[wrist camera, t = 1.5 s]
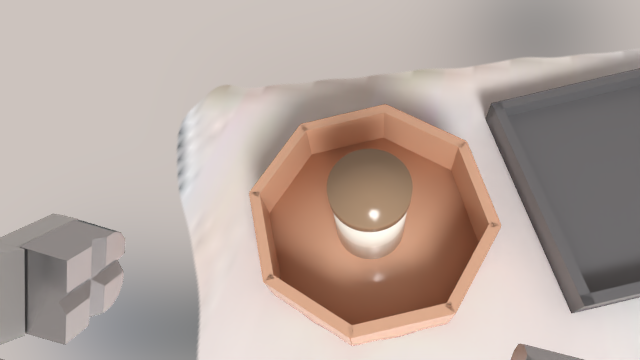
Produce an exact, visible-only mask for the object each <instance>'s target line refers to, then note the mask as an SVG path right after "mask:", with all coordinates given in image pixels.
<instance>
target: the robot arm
mask: <svg viewBox="0 0 640 360" xmlns="http://www.w3.org/2000/svg"><path fill="white" fill-rule="evenodd" d="M124 253H125V238H124V236H123V235H122V233H121V232H118V231H115V230H111V229H108V228H105V227H101V226H98V225H95V224H91V223H88V222H85V221H81V220H78V219H75V218H71V217H67V216H63V215H58V214H51V215H49V216H47V217H45V218H43V219H40V220H38V221H36V222H34V223H31V224H29V225H27V226H25V227H23V228H20V229H18V230H16V231H14V232H11V233H9V234H7V235H5V236H3V237H0V345H1V344H4V343H6V342H9V341H12V340H14V339H17V338H20V337H22V336H25V333H26V334H30V335H33V336H37V337H40V338H43V339H47V340H50V341H54V342H57V343H61V344H65V345H66V344H67V343H68V342H69V341H70V340H72V339H73V338H74V337H75V336H77V335H78V334H79V333H80V332H81V331H83V330H84V329H85V328H86V327H87V326H88V325H89V317H92V316H95V315H99V314H102V313H104V312H105V311H106V310H107V309H109V308H110V307H111V306H112V305H113V303H114V302H115V300H116V298H117V297H118V295H119V293H120V290H121V287H122V283H123V269H122V268H121V266H120V264H119V262H118V259H119V258H120V257H121V256H122V255H123V254H124ZM0 360H3V359H0ZM511 360H583V359H579V358H576V357H572V356H568V355H564V354H560V353H556V352H552V351H548V350H544V349H540V348H536V347H532V346H528V345H524V344H518V346H517V347H516V349H515V350H514V352H513V355H512V358H511Z"/></svg>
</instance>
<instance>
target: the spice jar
mask: <svg viewBox="0 0 640 360" xmlns="http://www.w3.org/2000/svg"><path fill="white" fill-rule="evenodd" d="M412 190H413V185H412V179H411V175H410V173H409V171H408V169H407V167H406V166H405V165H404V163H403V162H402V161H401V160H400V159H398V158H397V157H396V156H394V155H392V154H391V153H388V152H386V151H383V150H379V149H361V150H357V151H353V152H351V153H349V154H347V155H345V156H344V157H342V158H341V159H340V160H339V161H338V162H337V163H336V164H335V165H334V166H333V168H332V170H331V171H330V174H329V176H328V180H327V195H328V200H329V204H330V207H331V209H332V211H333V214H334V219H335V224H336V229H337V234H338V237H339V240H340V242H341V244H342V245H343V246H344V248H345V249H346V250H347V251H348V252H350V253H351V254H353V255H355V256H357V257H359V258H363V259H378V258H382V257H384V256H387V255H388V254H390V253H391V252H393V251H394V250H395V249H396V248H397V246H398V245H399V244H400V242H401V240H402V237H403V232H404V226H405V220H406V214H407V210H408V208H409V206H410V202H411V197H412Z"/></svg>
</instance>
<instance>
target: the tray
mask: <svg viewBox="0 0 640 360" xmlns="http://www.w3.org/2000/svg"><path fill="white" fill-rule="evenodd" d="M486 121H487V123H488V126H489V128H490V130H491V132H492V135H493V137H494V139H495V141H496V144H497V146H498V148H499V150H500V153H501V155H502V157H503V159H504V162H505V164H506V166H507V168H508V171H509V173H510V175H511V178H512V180H513V182H514V184H515V187H516V189H517V191H518V193H519V196H520V198H521V200H522V202H523V205H524V207H525V209H526V211H527V214H528V216H529V218H530V220H531V223H532V225H533V227H534V229H535V232H536V234H537V236H538V238H539V241H540V243H541V245H542V247H543V250H544V252H545V254H546V257H547V259H548V261H549V263H550V266H551V268H552V270H553V272H554V275H555V277H556V279H557V281H558V284H559V286H560V288H561V290H562V293H563V295H564V297H565V299H566V302H567V304H568V306H569V308H570V311H571V313H575V312H580V311H584V310H588V309H592V308H596V307H601V306H605V305H609V304H613V303H618V302H622V301H626V300H630V299H634V298H639V297H640V68H639V69H635V70H631V71H627V72H622V73H618V74H614V75H610V76H605V77H601V78H597V79H593V80H588V81H584V82H580V83H576V84H571V85H567V86H563V87H559V88H554V89H550V90H546V91H542V92H537V93H533V94H529V95H525V96H520V97H516V98H512V99H508V100H503V101H499V102H495V103H491V106H490V109H489V111H488V114H487V117H486Z"/></svg>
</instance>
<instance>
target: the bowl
mask: <svg viewBox="0 0 640 360" xmlns="http://www.w3.org/2000/svg"><path fill="white" fill-rule="evenodd" d="M361 149H379V150H383V151H386V152H388V153H391V154H392V155H394V156H396V157H397V158H398V159H400V160H401V161H402V162H403V163H404V165H405V166H406V167H407V169H408V171H409V173H410V175H411V179H412V185H413V190H412V197H411V202H410V206H409V208H408V210H407V214H406V220H405V226H404V232H403V237H402V240H401V242H400V244H399V245H398V246H397V248H396V249H395V250H394V251H393V252H391V253H390V254H388V255H387V256H384V257H382V258H378V259H363V258H359V257H357V256H355V255H353V254H351V253H350V252H348V251H347V250H346V249H345V248H344V246H343V245H342V244H341V242H340V240H339V237H338V234H337V229H336V224H335V219H334V214H333V211H332V209H331V207H330V204H329V200H328V195H327V180H328V176H329V174H330V171H331V170H332V168H333V166H334V165H335V164H336V163H337V162H338V161H339V160H340V159H341V158H342V157H344V156H345V155H347V154H349V153H351V152H353V151H357V150H361ZM249 196H250V202H251V208H252V214H253V221H254V227H255V233H256V239H257V246H258V252H259V258H260V265H261V271H262V277H263V282H264V283H265V284H266V286H267V287H268V288H269V289H270V291H271V292H272V293H273V294H274V295H275V296H277V297H278V298H280V299H281V300H283V301H284V302H286V303H287V304H289V305H290V306H292V307H293V308H295V309H296V310H298V311H299V312H301V313H302V314H304V315H305V316H306V317H307V318H309V319H310V320H311V321H313V322H314V323H316V324H318V325H320V326H321V327H323V328H325V329H327V330H328V331H330V332H331V333H333V334H334V335H336V336H338V337H339V338H341V339H342V340H344V341H345V342H347V343H348V344H350V345H351V346H352V345H353V346H355V345H360V344H364V343H368V342H372V341H377V340H381V339H390V338H396V337H401V336H404V335H407V334H410V333H414V332H416V331H419V330H423V329H427V328H431V327H436V326H440V325H444V324H447V323H448V322H449V321H450V320H451V319H452V317H453V316H454V315H455V314H456V312H457V310H458V308H459V306H460V304H461V302H462V301H463V299H464V297H465V295H466V293H467V291H468V289H469V287H470V285H471V283H472V281H473V279H474V278H475V276H476V274H477V272H478V270H479V268H480V266H481V264H482V262H483V260H484V258H485V257H486V255H487V253H488V251H489V249H490V247H491V245H492V243H493V241H494V239H495V237H496V235H497V234H498V232H499V230H500V228H501V223H500V221H499V218H498V216H497V214H496V211H495V209H494V206H493V204H492V201H491V199H490V197H489V194H488V192H487V189H486V187H485V184H484V182H483V179H482V177H481V175H480V172H479V170H478V167H477V165H476V162H475V160H474V158H473V155H472V153H471V150H470V148H469V145H468V143H467V142H466V141H465V140H463V139H461V138H459V137H456V136H454V135H452V134H450V133H448V132H446V131H443V130H441V129H439V128H437V127H435V126H432V125H430V124H428V123H426V122H424V121H422V120H419V119H417V118H415V117H413V116H411V115H409V114H406V113H404V112H402V111H400V110H398V109H396V108H393V107H391V106H389V105H387V104H386V105H385V104H383V105H379V106H375V107H370V108H366V109H362V110H358V111H353V112H349V113H345V114H341V115H336V116H332V117H328V118H324V119H319V120H315V121H311V122H307V123H302V124H300V125H299V127H298V128H297V129H296V131H295V132H294V133H293V135H292V136H291V137H290V139H289V140H288V141H287V143H286V144H285V145H284V147H283V148H282V149H281V151H280V152H279V153H278V155H277V156H276V157H275V159H274V160H273V161H272V163H271V164H270V165H269V167H268V168H267V169H266V171H265V172H264V173H263V175H262V176H261V177H260V179H259V180H258V181H257V183H256V184H255V185H254V187H253V188H252V189H251V191H250V193H249Z"/></svg>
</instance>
